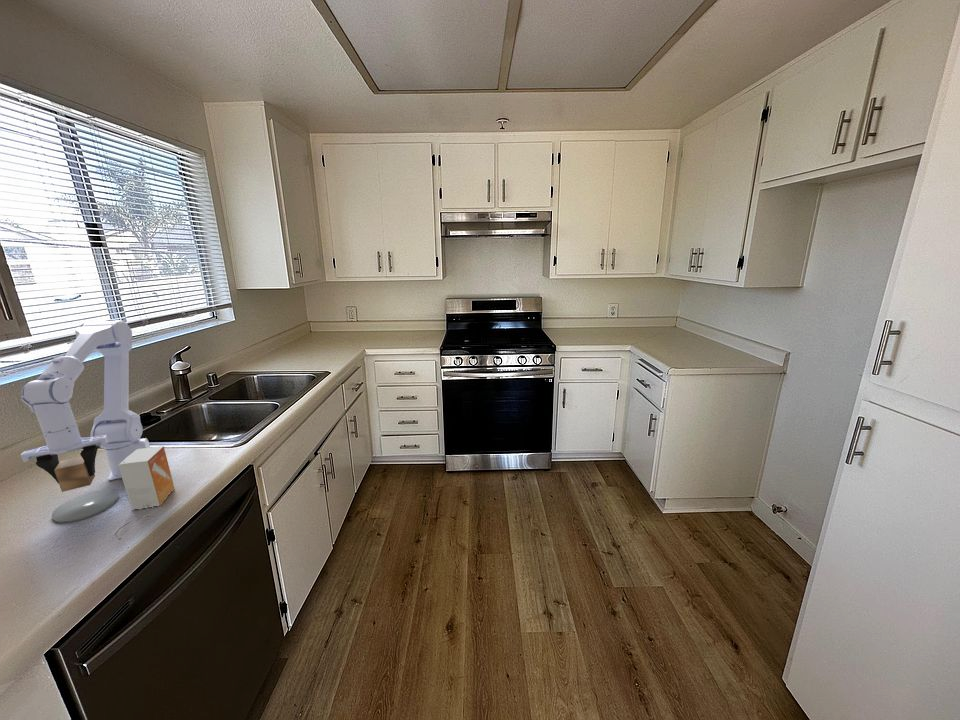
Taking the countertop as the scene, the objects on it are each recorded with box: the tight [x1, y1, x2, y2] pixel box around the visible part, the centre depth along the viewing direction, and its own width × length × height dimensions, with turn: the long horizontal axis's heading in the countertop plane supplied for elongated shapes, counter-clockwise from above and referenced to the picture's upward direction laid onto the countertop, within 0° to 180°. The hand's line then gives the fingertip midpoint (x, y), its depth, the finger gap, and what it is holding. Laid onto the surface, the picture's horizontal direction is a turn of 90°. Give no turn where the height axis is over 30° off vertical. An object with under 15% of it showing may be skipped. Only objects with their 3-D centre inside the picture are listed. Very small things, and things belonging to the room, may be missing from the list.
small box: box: [118, 445, 175, 511], centre depth 100 cm, size 8×6×13 cm
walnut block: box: [54, 455, 96, 493], centre depth 97 cm, size 5×5×6 cm
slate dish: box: [51, 488, 120, 524], centre depth 99 cm, size 12×12×1 cm
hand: (77, 477), depth 97 cm, fingers closed on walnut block, 5 cm apart
